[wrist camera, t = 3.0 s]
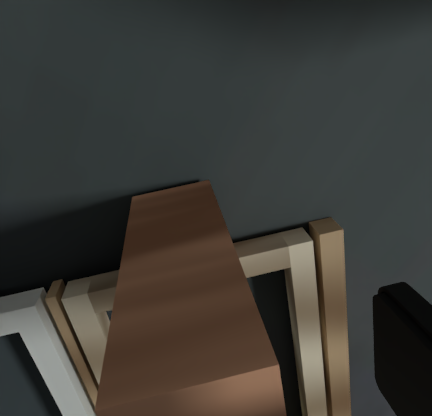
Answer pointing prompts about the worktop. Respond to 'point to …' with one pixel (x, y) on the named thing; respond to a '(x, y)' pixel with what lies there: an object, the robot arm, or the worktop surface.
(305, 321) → the frame
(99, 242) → the worktop surface
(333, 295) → the lane bed
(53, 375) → the frame
